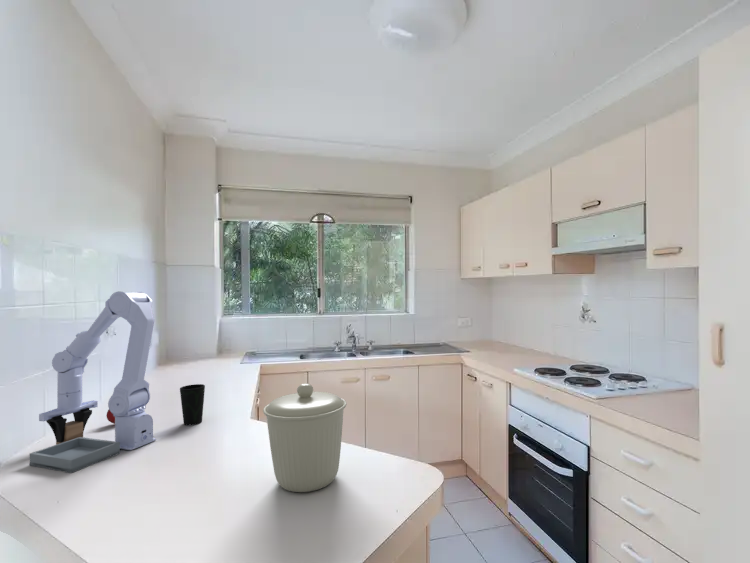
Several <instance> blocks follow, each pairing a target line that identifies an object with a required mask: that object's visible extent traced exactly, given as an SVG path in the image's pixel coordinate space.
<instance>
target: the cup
mask: <svg viewBox="0 0 750 563" xmlns="http://www.w3.org/2000/svg"><path fill="white" fill-rule="evenodd" d="M205 389H206V384H200V383H197V384H195V383H194V384H188V385H185V386H181V387H180V388H179V392H180V393H179V394H180V402H181V412H182V420H183V425H184V426H195V425H198V424H201V423H202V422H203V414H204V412H203V411H204V404H205V402H204V401H205Z"/></svg>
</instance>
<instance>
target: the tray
mask: <svg viewBox="0 0 750 563" xmlns="http://www.w3.org/2000/svg"><path fill="white" fill-rule="evenodd" d="M120 453H121V452H120V442H115V440H114V441H113V440H106V439H98V438H89V437H84V436H83V437H78V438H75V439H72V440H69V441H66V442H63V443H60V444H57V445H56V444H54V445H51V446H48V447H45V448H43V449H39V450H37V451H33V452H30V453H29V466H30V467H35V468H36V467H37V468H41V469H47V470H53V471H58V472H64V473H68V474H72V473H75V472H77V471H79V470H82V469H84V468H87V467H89V466H90V467H91V466H93V465H94V464H97V463H100V462H102V461H105V460H107V459H110V458H112V457H114V456H117V455H119V454H120Z"/></svg>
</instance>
